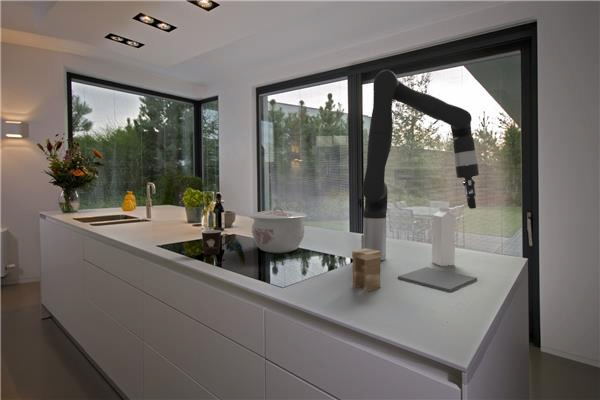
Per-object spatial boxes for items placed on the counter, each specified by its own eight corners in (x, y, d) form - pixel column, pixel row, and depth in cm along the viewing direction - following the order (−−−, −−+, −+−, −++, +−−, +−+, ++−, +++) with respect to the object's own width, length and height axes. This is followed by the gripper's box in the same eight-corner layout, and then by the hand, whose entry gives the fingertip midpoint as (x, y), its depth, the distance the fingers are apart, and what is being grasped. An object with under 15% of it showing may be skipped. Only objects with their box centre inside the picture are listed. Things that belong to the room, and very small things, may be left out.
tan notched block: (352, 287, 108) (352, 251, 107) (365, 282, 112) (365, 248, 111) (367, 291, 103) (367, 254, 102) (380, 287, 107) (381, 251, 106)
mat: (397, 278, 116) (397, 276, 116) (426, 269, 128) (426, 267, 128) (449, 292, 102) (449, 289, 102) (476, 280, 114) (477, 277, 114)
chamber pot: (301, 258, 146) (301, 209, 145) (240, 255, 152) (239, 208, 150) (312, 245, 174) (312, 204, 172) (260, 243, 179) (259, 203, 178)
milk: (440, 266, 132) (441, 208, 130) (431, 262, 138) (432, 207, 136) (454, 265, 133) (456, 208, 131) (445, 261, 139) (446, 206, 137)
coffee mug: (198, 255, 154) (197, 232, 153) (208, 251, 162) (208, 229, 161) (221, 256, 150) (221, 233, 149) (231, 252, 158) (230, 230, 158)
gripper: (454, 166, 137) (460, 207, 138) (455, 165, 124) (461, 210, 125) (475, 163, 134) (481, 204, 135) (479, 162, 121) (485, 208, 122)
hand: (471, 207), depth 130 cm, fingers open, 8 cm apart
